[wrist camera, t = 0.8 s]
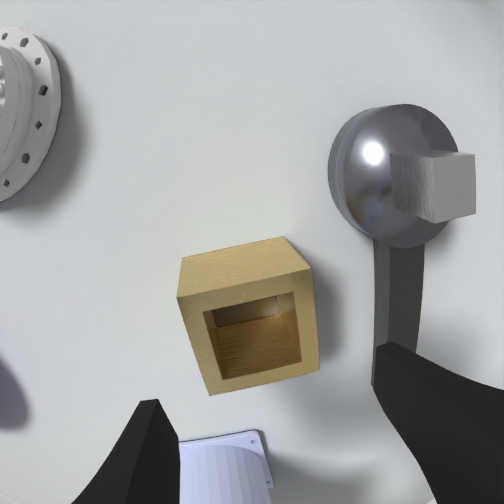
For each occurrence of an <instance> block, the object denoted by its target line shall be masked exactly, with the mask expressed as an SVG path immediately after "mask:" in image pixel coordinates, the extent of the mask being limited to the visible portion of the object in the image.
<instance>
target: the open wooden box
mask: <svg viewBox="0 0 504 504" xmlns="http://www.w3.org/2000/svg"><path fill="white" fill-rule="evenodd" d="M276 295H277V300H278V307H279V313H280V314H276V315H272V316H267V317H263V318H259V319H255V320H250V321H246V322H241V323H237V324H232V325H227V326H223V327H218V328H216V324H215V320H214V317H213V313H212V310H213V309H218V308H222V307H227V306H231V305H236V304H241V303H245V302H250V301H254V300H258V299H263V298H267V297H271V296H276ZM176 298H177V301H178V304H179V308H180V311H181V314H182V317H183V321H184V324H185V327H186V330H187V333H188V336H189V339H190V342H191V345H192V348H193V351H194V354H195V357H196V360H197V363H198V366H199V368H200V371H201V374H202V377H203V380H204V382H205V385H206V388H207V391H208V393H209V396H211V395H217V394H222V393H227V392H232V391H237V390H242V389H246V388H251V387H255V386H260V385H264V384H268V383H272V382H276V381H280V380H284V379H288V378H292V377H296V376H300V375H303V374H307V373H310V372H314V371H317V370H320V362H319V348H318V335H317V323H316V312H315V301H314V291H313V281H312V272H311V267H310V266H309V265H308V264H307V263H306V262H305V260H304V259H303V258H302V257H301V256H300V255H299V254H298V253H297V251H296V250H295V249H294V248H293V247H292V246H291V245H290V244H289V242H288V241H287V240H286V239H285V238H284V237H283V236H282V237H277V238H272V239H267V240H263V241H258V242H253V243H249V244H244V245H239V246H235V247H230V248H225V249H221V250H216V251H211V252H207V253H202V254H197V255H193V256H188V257H184V258H182V263H181V269H180V276H179V283H178V290H177V297H176Z"/></svg>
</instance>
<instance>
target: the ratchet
mask: <svg viewBox="0 0 504 504" xmlns="http://www.w3.org/2000/svg"><path fill="white" fill-rule="evenodd" d="M328 182H329V187H330V191H331V195H332V198H333V200H334V202H335V204H336V206H337V208H338V210H339V211H340V213H341V214H342V215H343V217H344V218H345V219H346V220H347V221H348V222H349V223H350V224H351V225H353V226H354V227H356V228H357V229H359V230H361V231H362V232H364V233H366V234H367V235H369V236H371V237H373V241H374V273H375V313H374V346H373V364H372V379H371V385H372V387H373V384H374V371H375V357H376V347H377V346H380V345H382V344H385V343H388V342H391V341H392V342H395V343H397V344H398V345H400V346H402V347H404V348H406V349H408V350H410V351H412V352H414V353H415V354H416V347H417V339H418V331H419V323H420V313H421V302H422V289H423V272H424V243H426V242H428V241H429V240H431V239H432V238H434V237H435V236H436V235H437V234H438V233H439V232H440V231H441V230H442V229H443V228H444V227H445V225H446V224H447V222H448V221H449V220H452V219H456V218H460V217H464V216H469V215H473V214H476V174H475V154H467V153H459V152H458V149H457V146H456V143H455V141H454V139H453V137H452V135H451V133H450V131H449V130H448V128H447V127H446V126H445V124H444V123H443V122H442V121H441V120H440V119H439V118H438V117H437V116H435V115H434V114H433V113H431V112H430V111H428V110H427V109H424V108H422V107H420V106H416V105H411V104H399V105H391V106H385V107H378V108H372V109H368V110H365V111H363V112H360V113H358V114H357V115H355V116H354V117H352V118H351V119H350V120H349V121H348V122H346V123H345V125H344V126H343V127H342V128H341V130H340V131H339V133H338V134H337V136H336V138H335V140H334V142H333V145H332V148H331V151H330V155H329V161H328Z"/></svg>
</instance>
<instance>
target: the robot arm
mask: <svg viewBox="0 0 504 504" xmlns="http://www.w3.org/2000/svg"><path fill="white" fill-rule="evenodd" d="M373 390H374V392H375V395H376V397H377V399H378V401H379V403H380V405H381V407H382V409H383V411H384V413H385V414H386V416H387V417H388V419H389V420H390V422H391V423H392V425H393V426H394V427H395V429H396V430H397V432H398V433H399V435H400V436H401V438H402V439H403V441H404V442H405V444H406V445H407V447H408V448H409V449H410V451H411V452H412V454H413V455H414V457H415V459H416V460H417V462H418V464H419V465H420V467H421V469H422V471H423V473H424V475H425V477H426V479H427V481H428V484H429V486H430V488H431V490H432V493H433V495H434V497H435V499H436V502H437V504H504V390H501V389H497V388H494V387H491V386H487V385H484V384H481V383H478V382H475V381H473V380H470V379H468V378H465V377H463V376H460V375H458V374H456V373H453V372H451V371H449V370H447V369H445V368H443V367H441V366H439V365H437V364H435V363H433V362H431V361H429V360H427V359H425V358H423V357H421V356H419V355H417V354H415V353H414V352H412V351H410V350H408V349H406V348H404V347H402V346H400V345H398V344H397V343H395V342H392V341H391V342H388V343H385V344H382V345H380V346H377V347H376V357H375V371H374V384H373ZM273 487H274V483H273V480H272V477H271V473H270V470H269V467H268V463H267V460H266V456H265V453H264V449H263V446H262V442H261V439H260V435H259V433H258V432H257V431H254V430H253V431H247V432H242V433H237V434H232V435H226V436H221V437H215V438H209V439H202V440H195V441H188V442H180V443H179V441H178V436H177V434H176V432H175V430H174V429H173V427H172V425H171V423H170V421H169V419H168V417H167V415H166V414H165V412H164V410H163V408H162V406H161V404H160V402H159V400H158V399H153V400H145V401H140V403H139V404H138V406H137V408H136V409H135V411H134V413H133V415H132V416H131V418H130V420H129V422H128V424H127V425H126V427H125V429H124V431H123V432H122V434H121V436H120V437H119V439H118V441H117V442H116V444H115V446H114V447H113V449H112V451H111V452H110V454H109V456H108V457H107V459H106V460H105V461H104V463H103V464H102V466H101V467H100V469H99V470H98V472H97V473H96V475H95V476H94V477H93V479H92V480H91V481H90V483H89V484H88V485H87V486H86V488H85V489H84V490H83V491H82V493H81V494H80V495H79V496H78V497H77V498H76V499H75V500H74V501H73V502H72V503H71V504H272V503H271V499H270V495H269V491H268V489H271V488H273Z"/></svg>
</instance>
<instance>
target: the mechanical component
mask: <svg viewBox="0 0 504 504" xmlns="http://www.w3.org/2000/svg"><path fill="white" fill-rule="evenodd" d="M61 104H62V102H61V84H60V72H59V69H58V65H57V61H56V59H55V57H54V56H53V54H52V52H51V51H50V49H49V47H48V45H47V44H45V43H44V42H43V41H41V40H40V39H38V38H37V37H36V36H34V35H33V34H31V33H29V32H27V31H26V30H24V29H22V28H16V27H4V28H0V201H2V200H5V199H7V198H10V197H12V196H13V195H14V194H15V193H16V192H17V191H19V190H20V189H21V188H22V187H24V186H25V185H26V184H27V183H28V182H29V180H30V179H31V178H32V177H33V175H34V174H35V173H36V172H37V170H38V169H39V167H40V165H41V163H42V162H43V160H44V158H45V156H46V155H47V153H48V150H49V147H50V145H51V142H52V140H53V137H54V135H55V131H56V126H57V122H58V117H59V112H60V108H61Z"/></svg>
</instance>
